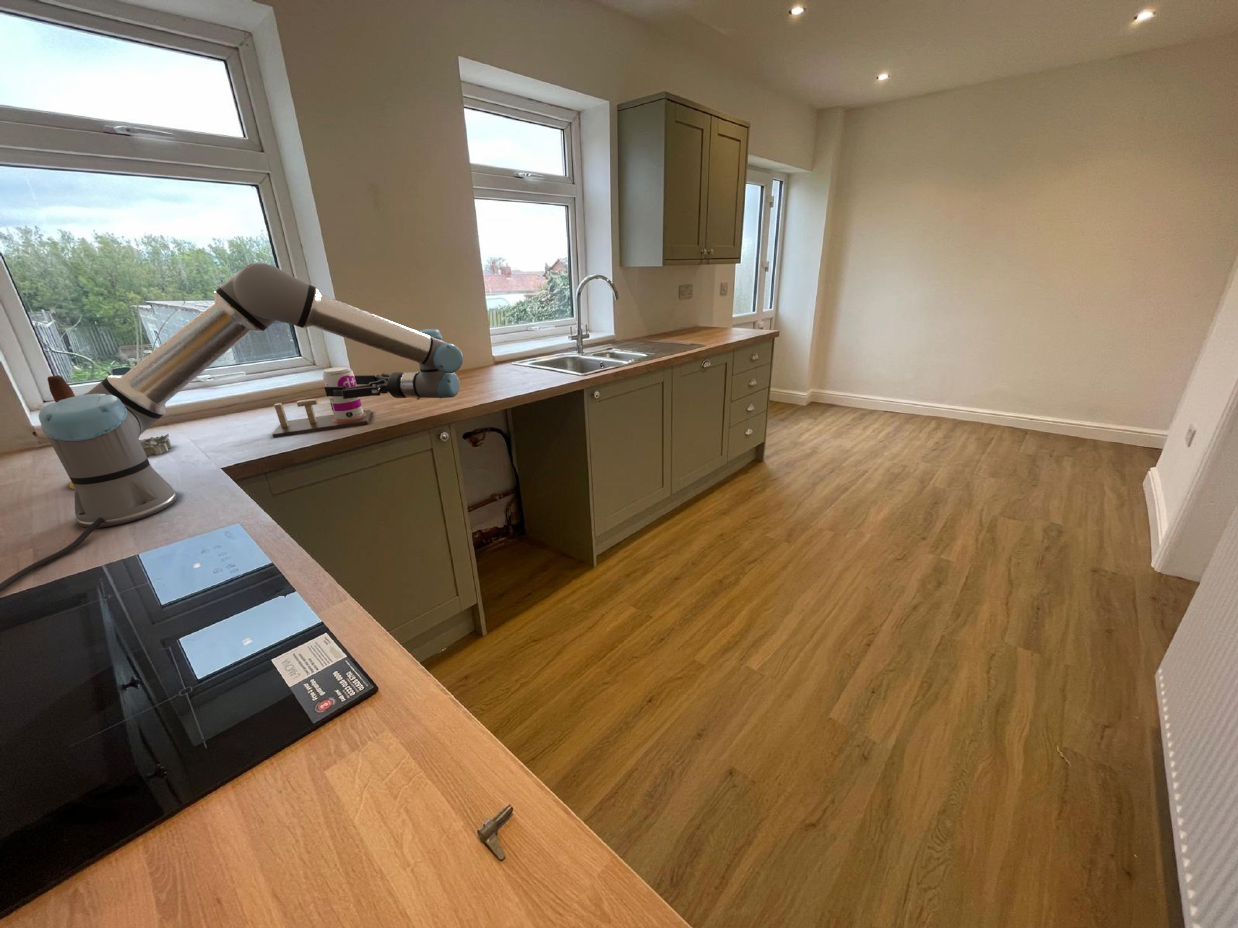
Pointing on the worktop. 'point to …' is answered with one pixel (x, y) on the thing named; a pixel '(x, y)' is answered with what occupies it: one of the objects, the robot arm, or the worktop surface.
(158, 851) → the worktop surface
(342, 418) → the supplement can
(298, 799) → the worktop surface
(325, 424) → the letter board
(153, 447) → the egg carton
